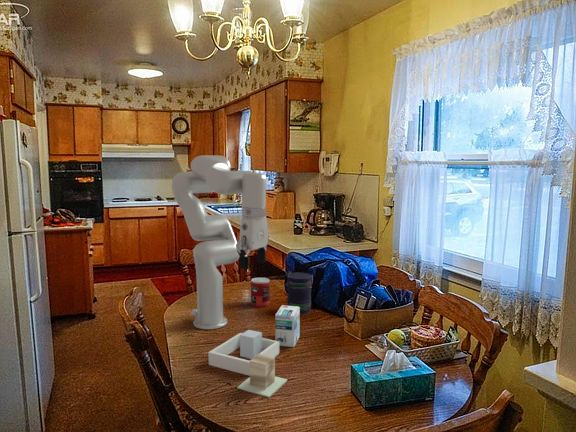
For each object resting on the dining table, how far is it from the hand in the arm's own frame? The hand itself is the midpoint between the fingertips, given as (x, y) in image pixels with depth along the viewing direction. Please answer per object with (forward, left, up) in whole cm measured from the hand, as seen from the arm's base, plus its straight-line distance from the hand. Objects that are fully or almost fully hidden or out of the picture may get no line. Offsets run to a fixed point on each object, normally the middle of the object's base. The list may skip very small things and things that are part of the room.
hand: (252, 265), depth 141 cm
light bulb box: (+7, +11, -28) cm, 31 cm away
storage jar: (-3, +40, -28) cm, 50 cm away
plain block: (+2, -4, -28) cm, 28 cm away
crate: (+2, -8, -28) cm, 29 cm away
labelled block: (+15, -19, -28) cm, 36 cm away
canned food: (-21, +39, -28) cm, 53 cm away
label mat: (+15, -19, -28) cm, 37 cm away
